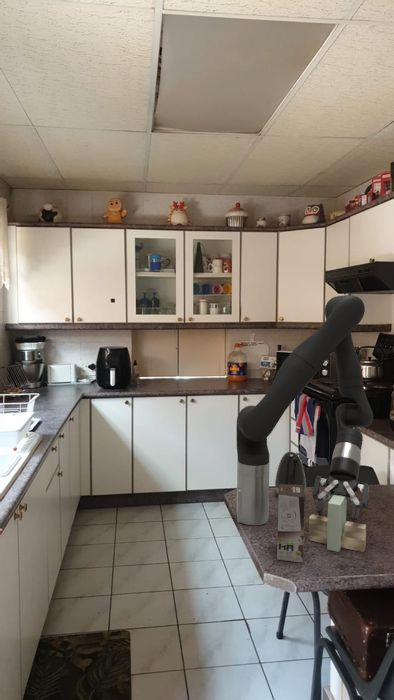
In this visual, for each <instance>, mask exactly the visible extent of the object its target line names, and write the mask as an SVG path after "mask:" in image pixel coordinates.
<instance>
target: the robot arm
mask: <svg viewBox="0 0 394 700" xmlns="http://www.w3.org/2000/svg"><path fill="white" fill-rule="evenodd" d="M365 307H366V305H365V303H364V301H363V300H362V298H361V297H358V296H357V295H353V294H345V295H337V296H334V297H331V298H330V299H329V300H327V303H326V304H325V307H324V316H325V320H324V321H323V322H324V323H322V324H321V325H320V327H319V328H318V329H317V330H316V331H315V332H314V333H312V334H311V335H310V336H309V337H307V338H306V339H305V340H303V341H302V342H300V343H299V345H297V346H296V347H295V348H294V349H293V350H292V351H291V353H290V354H289V355H288V356H287V357H286V358H285V360H284V361H283V363H282V364H281V366H280V367H279V368H278V371H277V373H276V375H275V376H274V379H273V382H272V383H271V386H270V388H269V389H268V391H267V393H266V394H265V395H264V396H263V397H262V398H261V400H259V402H258V403H257V404H256V405H248V406H245V407H243V408H242V409H241V410H240V411H239V413H238V415H237V417H236V450H237V452H236V453H237V484H236V522H237V523H239V524H240V523H241V524H244V525H248V526H261V525H265V524H266V523H268V522H269V514H270V513H269V508H270V507H269V505H270V501H269V500H270V498H269V497H270V495H269V494H270V492H269V491H270V460H271V459H270V450H269V447H268V438H269V436H270V435H271V434H272V432H273V431H274V429H275V427H277V425H278V423H279V421H280V420H281V418H282V416H283V415H284V413H286V411H287V409H288V408H289V407H290V405H291V404H292V403H293V402H294V401H295V400H296V398H297V397H298V396H299V395H300V393H301V392H302V391H303V390H304V388H306V387H307V385H308V384H309V383H310V382H311V380H312V379H313V378H314V377H315V375H316V374H317V373H318V372H319V371H320V369H321V368H322V366H323V365H324V364H325V363H326V361H327V360H328V358H330V356H331V355H332V354H333V352H334V358H335V364H336V374H337V382H338V391H339V394H340V395H341V396H342V397H346V398H351V399H352V400H353V401H355V402H356V403H347V402H346V403H340V404H338V406H337V407H336V409H335V420H336V426H337V427H336V428H337V435H336V442H335V446H334V449H333V453H332V458H331V463H330V469H329V473H328V477H326V478H324V477H323V478H322V477H321V475H317V476H315V480H314V484H313V488H312V491H311V495H312V497H313V500H316V501H317V503H316V506H315V507H316V508H315V509H316V513H317V515H319V516H323V511H324V505H325V503H324V502H325V501H326V500H330V499H331V498H332V497H333V495H334V494H335V495H342V496H346V498H347V499H348V498H349V500H350V501H351V503H352V504H353V506H352V512H351V522H355V523H356V521H358V520H359V517H360V510H361V509H366V510H367V509H368V508H369V497H370V488H369V483H366V482H364V483H363V484H360V483H358V480H359V473H360V467H361V464H362V463H361V461H362V459H361V458H362V457H361V456H362V455H361V454H362V446H363V442H364V440H363V438H364V437H363V433H362V431H360V430H358V429H357V428H367V427H370V426H371V425H372V423H373V420H374V414H373V410H372V408H371V406H370V403H369V401H368V397H367V395H366V392H365V389H364V379H363V371H362V370H363V369H362V365H361V362H360V359H359V358H360V357H359V356H358V354H357V351H356V348H355V345H354V343H353V338H352V331H353V330H354V329H355V328H356V326H358V325H359V324H360V323H361V321H362V320H363V318H364V316H365V312H366V311H365V309H366V308H365ZM324 485H326V487H325V488H324V489H323V491H322V492H320V491H321V487H323V486H324ZM358 490H359V491H360V493H361V494H362V499H361V500H359V499H358V498H357V496H356V494H355V493H356V492H357V491H358Z"/></svg>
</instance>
